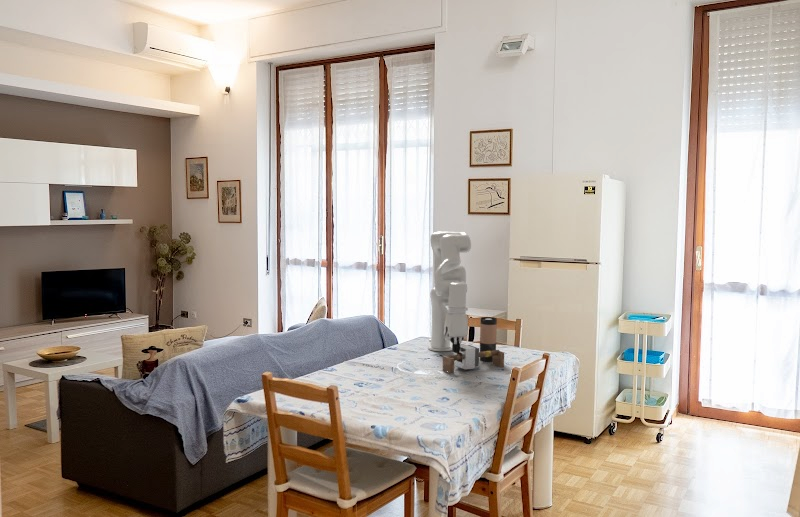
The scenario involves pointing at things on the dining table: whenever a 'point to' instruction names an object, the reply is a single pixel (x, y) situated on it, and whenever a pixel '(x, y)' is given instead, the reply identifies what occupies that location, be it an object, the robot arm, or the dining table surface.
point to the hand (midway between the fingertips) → (456, 352)
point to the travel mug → (488, 336)
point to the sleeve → (466, 357)
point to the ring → (476, 356)
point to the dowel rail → (496, 360)
